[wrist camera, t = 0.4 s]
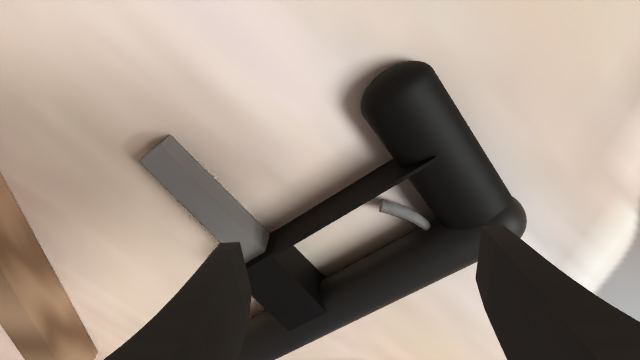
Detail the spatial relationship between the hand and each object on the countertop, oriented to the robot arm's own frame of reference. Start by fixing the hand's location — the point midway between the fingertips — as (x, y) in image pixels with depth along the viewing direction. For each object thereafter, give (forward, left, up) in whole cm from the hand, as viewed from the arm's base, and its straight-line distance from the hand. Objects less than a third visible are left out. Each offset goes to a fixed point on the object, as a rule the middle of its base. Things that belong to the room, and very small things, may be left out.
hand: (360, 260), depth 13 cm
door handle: (-5, +3, -10) cm, 12 cm away
